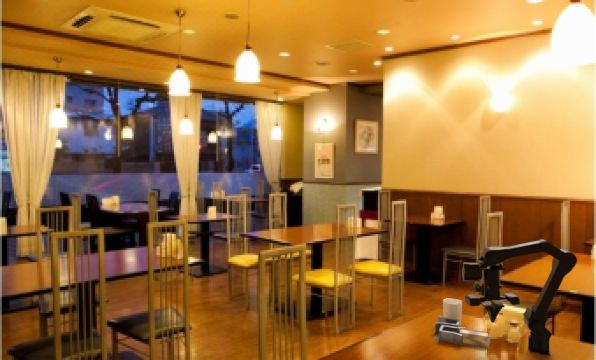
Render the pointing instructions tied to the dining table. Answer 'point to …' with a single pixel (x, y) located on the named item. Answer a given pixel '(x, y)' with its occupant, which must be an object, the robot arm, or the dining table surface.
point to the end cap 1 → (446, 323)
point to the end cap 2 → (451, 334)
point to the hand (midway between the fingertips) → (492, 322)
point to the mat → (465, 343)
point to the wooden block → (474, 338)
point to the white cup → (452, 308)
